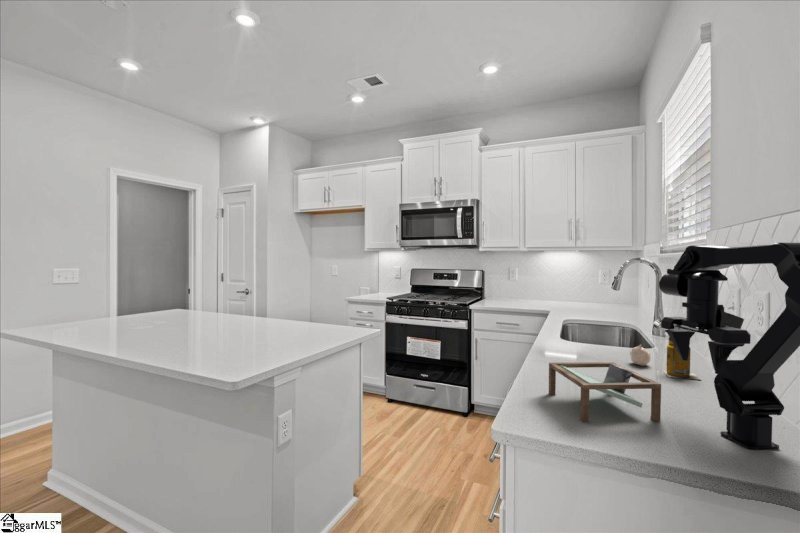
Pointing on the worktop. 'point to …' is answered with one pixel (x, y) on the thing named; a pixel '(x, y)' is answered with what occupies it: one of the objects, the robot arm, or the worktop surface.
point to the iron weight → (617, 376)
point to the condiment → (677, 363)
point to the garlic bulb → (640, 356)
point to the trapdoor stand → (605, 386)
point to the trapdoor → (607, 391)
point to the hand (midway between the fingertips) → (700, 365)
